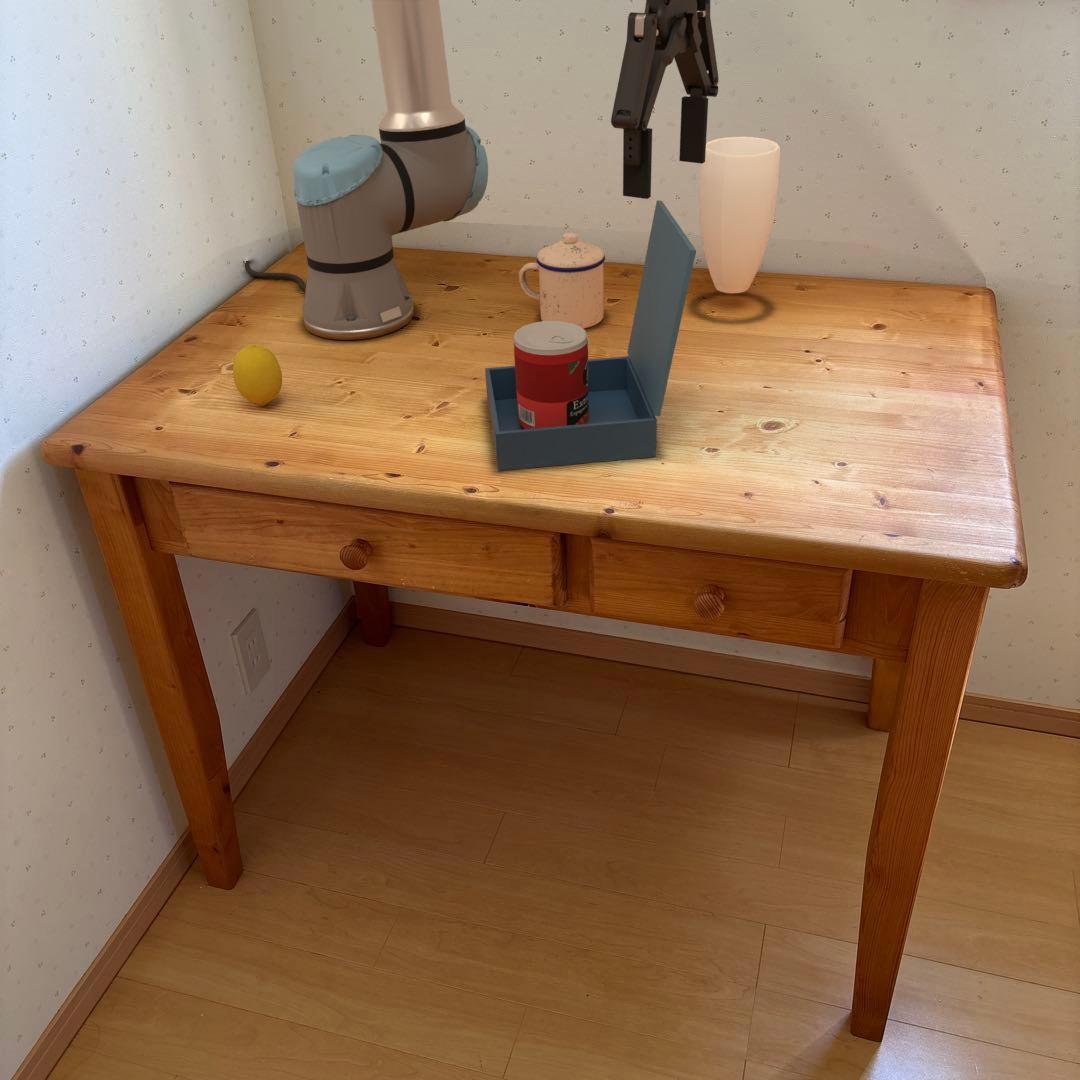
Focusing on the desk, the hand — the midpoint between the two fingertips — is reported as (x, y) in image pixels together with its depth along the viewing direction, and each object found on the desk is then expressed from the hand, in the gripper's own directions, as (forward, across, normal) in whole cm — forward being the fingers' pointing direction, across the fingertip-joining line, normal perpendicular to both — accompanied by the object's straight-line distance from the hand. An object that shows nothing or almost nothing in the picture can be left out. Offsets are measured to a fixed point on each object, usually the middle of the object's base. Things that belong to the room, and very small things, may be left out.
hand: (665, 178), depth 109 cm
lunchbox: (+25, -12, +6) cm, 28 cm away
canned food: (+25, -12, +7) cm, 29 cm away
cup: (+26, +29, +3) cm, 39 cm away
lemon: (+26, -23, +41) cm, 54 cm away
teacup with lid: (+26, +16, +22) cm, 37 cm away
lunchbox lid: (+12, -6, -2) cm, 13 cm away
